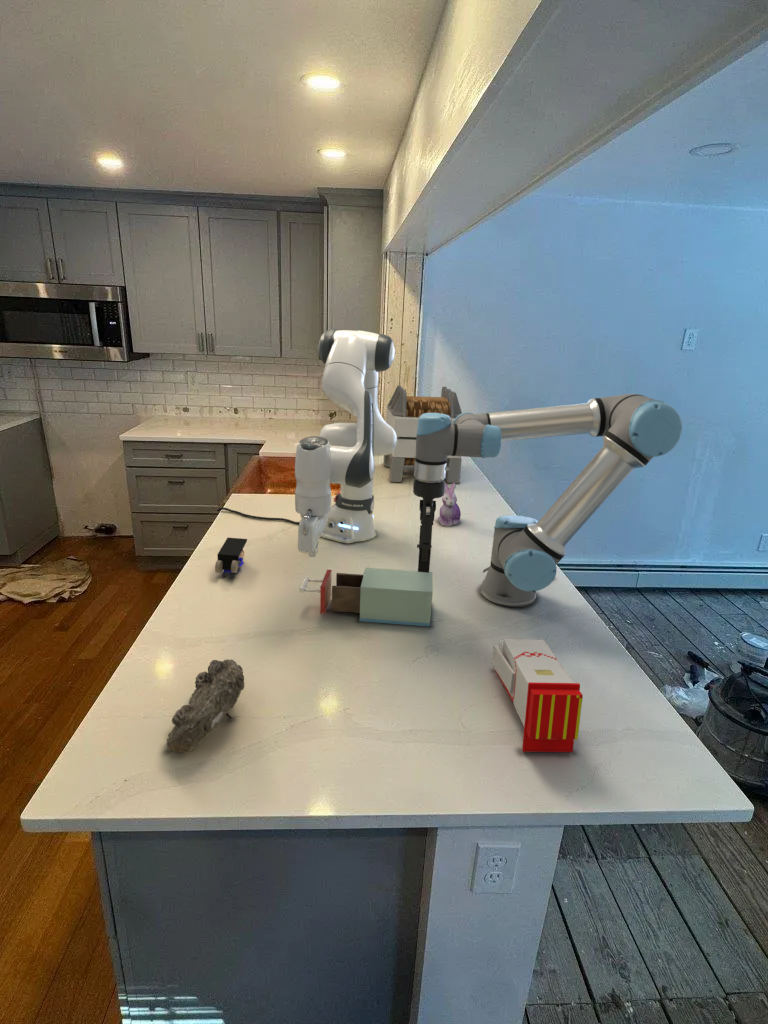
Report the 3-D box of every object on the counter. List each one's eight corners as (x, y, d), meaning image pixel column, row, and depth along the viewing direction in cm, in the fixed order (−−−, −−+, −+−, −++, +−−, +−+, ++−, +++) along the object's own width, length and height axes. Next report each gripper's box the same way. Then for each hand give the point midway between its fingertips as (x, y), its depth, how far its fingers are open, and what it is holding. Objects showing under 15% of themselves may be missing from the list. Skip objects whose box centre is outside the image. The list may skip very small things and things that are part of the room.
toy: (540, 622, 128) (592, 691, 98) (535, 677, 130) (584, 759, 101) (487, 621, 127) (523, 690, 98) (483, 676, 130) (516, 758, 101)
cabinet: (359, 621, 143) (360, 586, 140) (364, 599, 154) (365, 567, 151) (429, 626, 142) (432, 592, 139) (429, 604, 153) (432, 572, 150)
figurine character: (238, 584, 162) (249, 557, 175) (236, 562, 158) (247, 536, 172) (215, 584, 161) (227, 556, 175) (212, 561, 158) (225, 535, 171)
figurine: (446, 528, 206) (449, 489, 201) (431, 519, 215) (434, 481, 210) (467, 524, 211) (471, 486, 206) (452, 516, 219) (455, 478, 214)
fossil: (192, 660, 117) (244, 628, 112) (224, 691, 120) (276, 661, 115) (142, 746, 98) (202, 712, 93) (182, 779, 101) (242, 748, 96)
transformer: (382, 463, 289) (386, 382, 275) (445, 464, 293) (451, 384, 279) (390, 482, 257) (394, 392, 243) (460, 483, 261) (468, 394, 247)
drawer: (297, 611, 144) (297, 584, 142) (305, 593, 154) (305, 567, 151) (384, 618, 143) (385, 591, 141) (387, 599, 153) (388, 573, 150)
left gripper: (318, 519, 130) (317, 573, 134) (332, 492, 149) (331, 540, 154) (290, 517, 130) (291, 571, 135) (308, 490, 149) (308, 539, 154)
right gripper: (446, 496, 123) (439, 583, 131) (444, 466, 147) (437, 541, 154) (412, 493, 124) (407, 581, 131) (415, 464, 147) (410, 539, 154)
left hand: (313, 555), depth 144 cm, fingers closed
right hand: (423, 560), depth 142 cm, fingers open, 13 cm apart
